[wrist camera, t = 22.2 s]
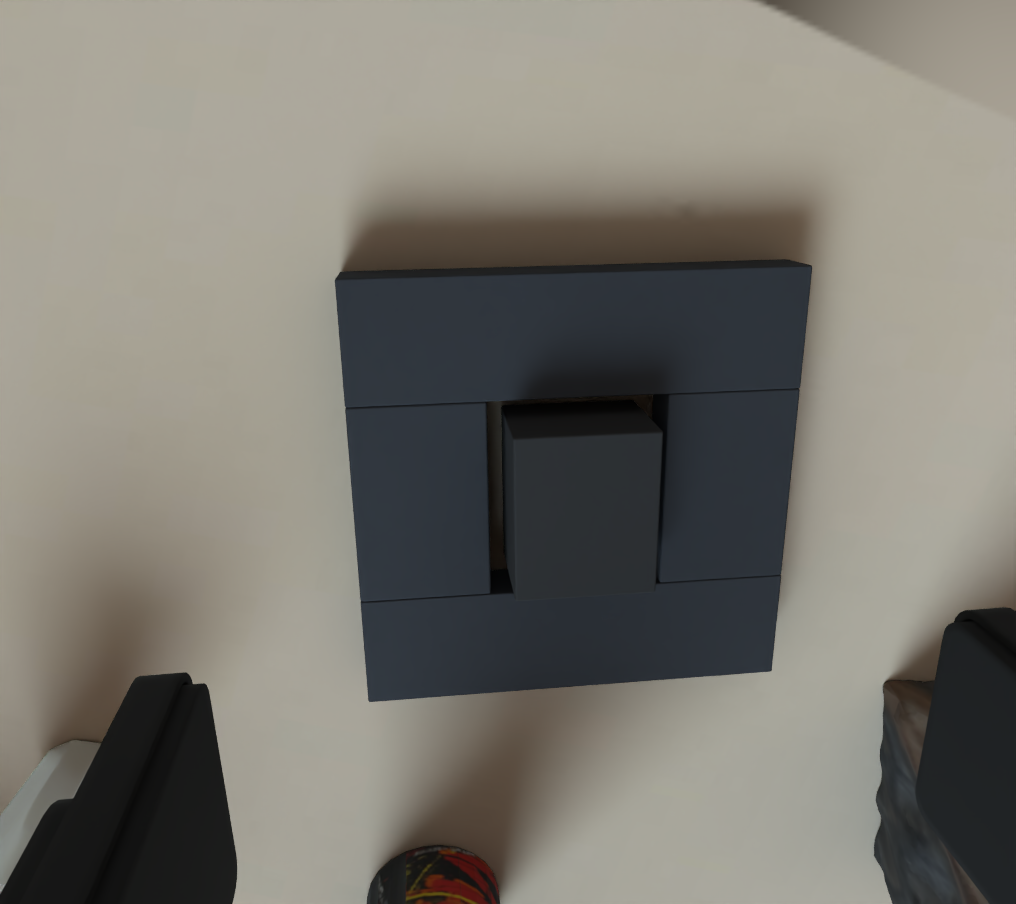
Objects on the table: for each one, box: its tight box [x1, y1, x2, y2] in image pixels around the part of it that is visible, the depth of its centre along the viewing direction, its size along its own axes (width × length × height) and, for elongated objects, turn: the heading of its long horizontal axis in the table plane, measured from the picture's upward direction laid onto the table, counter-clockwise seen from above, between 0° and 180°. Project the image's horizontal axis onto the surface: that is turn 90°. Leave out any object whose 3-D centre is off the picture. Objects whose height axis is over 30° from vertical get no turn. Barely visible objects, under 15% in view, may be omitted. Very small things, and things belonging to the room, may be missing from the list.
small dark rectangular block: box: [501, 400, 663, 601], centre depth 30 cm, size 6×5×4 cm
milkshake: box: [0, 740, 101, 894], centre depth 29 cm, size 4×5×10 cm
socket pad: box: [335, 260, 812, 702], centre depth 31 cm, size 16×16×2 cm
